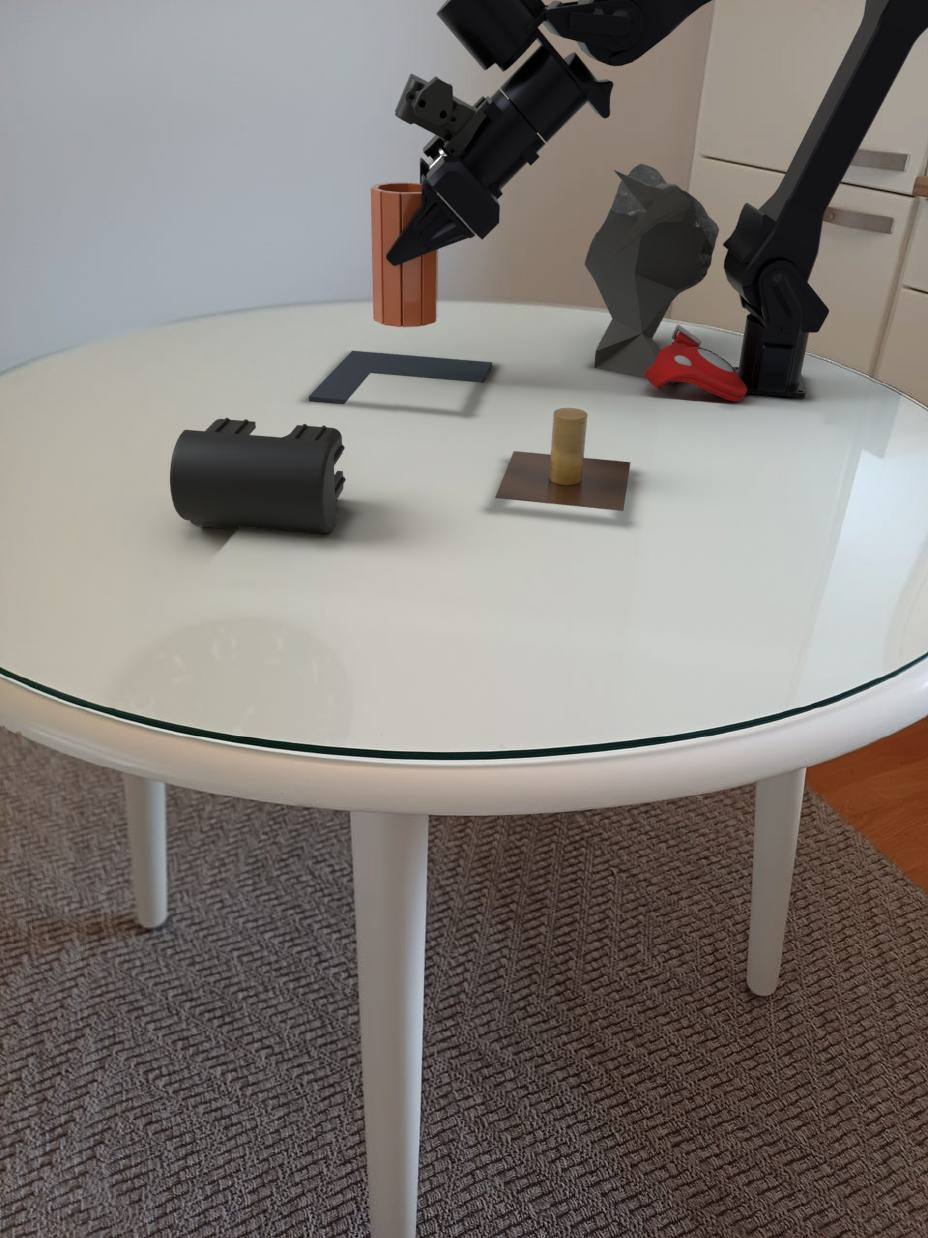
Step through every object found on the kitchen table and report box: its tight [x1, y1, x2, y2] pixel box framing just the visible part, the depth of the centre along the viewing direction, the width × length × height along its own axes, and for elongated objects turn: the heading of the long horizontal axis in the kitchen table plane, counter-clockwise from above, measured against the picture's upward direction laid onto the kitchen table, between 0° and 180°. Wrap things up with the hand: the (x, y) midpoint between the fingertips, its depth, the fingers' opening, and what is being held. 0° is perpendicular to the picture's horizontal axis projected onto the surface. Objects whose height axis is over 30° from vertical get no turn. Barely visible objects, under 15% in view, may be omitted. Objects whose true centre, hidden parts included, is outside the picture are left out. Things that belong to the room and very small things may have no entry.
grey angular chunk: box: [584, 163, 720, 385], centre depth 106 cm, size 14×15×18 cm
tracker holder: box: [644, 324, 747, 403], centre depth 100 cm, size 12×4×10 cm
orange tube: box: [370, 181, 439, 328], centre depth 94 cm, size 6×6×11 cm
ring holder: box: [494, 407, 631, 512], centre depth 78 cm, size 9×9×6 cm
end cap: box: [169, 417, 347, 535], centre depth 71 cm, size 10×7×7 cm
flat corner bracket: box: [308, 350, 493, 405], centre depth 100 cm, size 14×14×1 cm
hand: (389, 253), depth 94 cm, fingers closed on orange tube, 6 cm apart
